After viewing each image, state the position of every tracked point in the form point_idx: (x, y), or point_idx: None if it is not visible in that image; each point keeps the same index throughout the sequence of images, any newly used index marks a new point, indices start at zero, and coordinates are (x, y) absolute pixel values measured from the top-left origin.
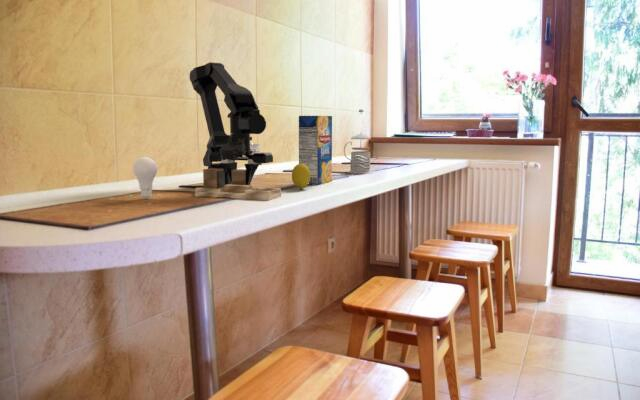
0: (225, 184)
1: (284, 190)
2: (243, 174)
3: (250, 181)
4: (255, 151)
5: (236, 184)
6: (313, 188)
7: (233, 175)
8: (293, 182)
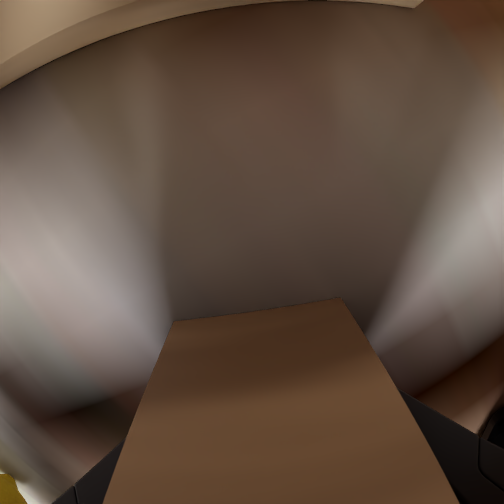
0: (486, 439)
1: (4, 433)
2: (108, 494)
3: None
4: None
5: (284, 353)
6: None
7: (379, 452)
8: (3, 493)
